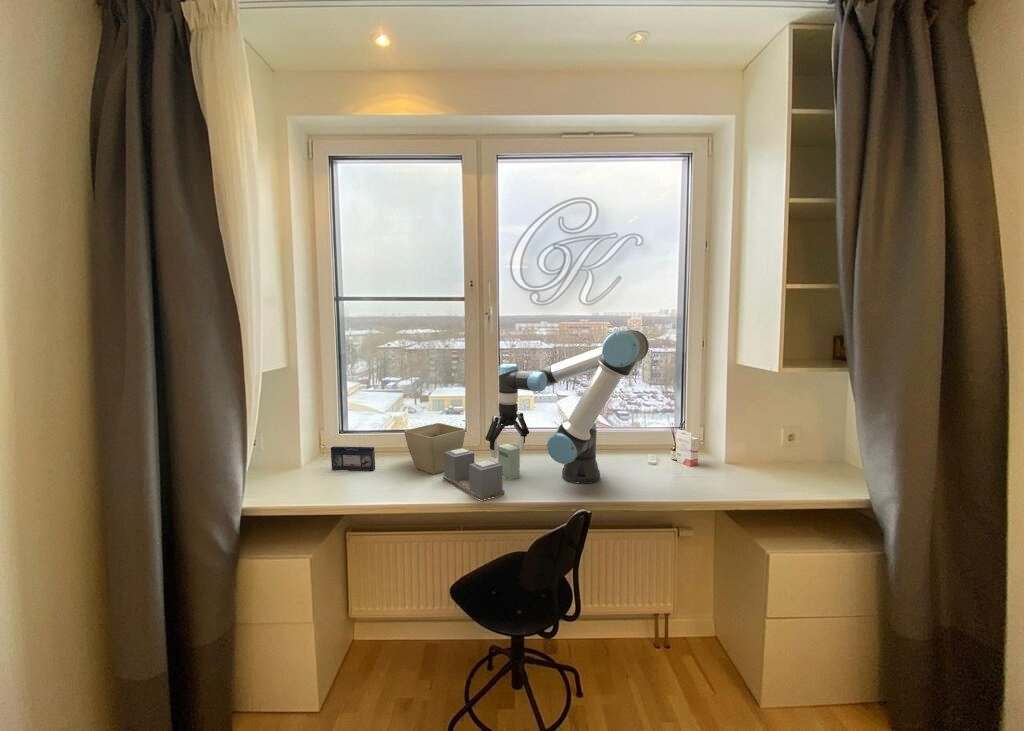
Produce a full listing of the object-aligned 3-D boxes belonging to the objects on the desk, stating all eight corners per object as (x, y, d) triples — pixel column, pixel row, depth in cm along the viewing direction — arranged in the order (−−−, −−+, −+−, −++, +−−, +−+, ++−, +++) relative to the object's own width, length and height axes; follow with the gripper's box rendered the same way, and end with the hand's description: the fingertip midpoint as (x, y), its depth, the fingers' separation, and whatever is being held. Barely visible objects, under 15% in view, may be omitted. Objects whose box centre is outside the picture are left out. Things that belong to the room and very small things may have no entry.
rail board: (464, 473, 186) (464, 469, 185) (504, 494, 163) (504, 490, 163) (443, 478, 180) (443, 475, 179) (481, 501, 157) (481, 497, 157)
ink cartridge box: (698, 465, 195) (699, 431, 193) (690, 466, 192) (691, 433, 191) (682, 459, 202) (683, 427, 201) (674, 461, 200) (675, 428, 198)
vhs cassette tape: (331, 470, 191) (330, 447, 190) (334, 468, 194) (333, 445, 193) (372, 472, 189) (371, 448, 187) (375, 469, 191) (374, 446, 190)
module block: (508, 471, 188) (507, 443, 186) (519, 477, 181) (519, 448, 180) (497, 474, 185) (497, 445, 183) (509, 479, 178) (509, 450, 177)
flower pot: (404, 468, 193) (403, 430, 191) (439, 458, 207) (438, 422, 205) (431, 479, 180) (430, 437, 178) (467, 467, 194) (466, 428, 192)
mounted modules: (464, 471, 185) (463, 446, 184) (502, 491, 163) (502, 463, 162) (444, 476, 179) (444, 450, 178) (481, 497, 158) (481, 468, 157)
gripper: (526, 398, 190) (526, 446, 193) (476, 404, 175) (476, 457, 178) (538, 400, 184) (537, 451, 187) (487, 408, 169) (487, 462, 172)
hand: (507, 454), depth 182 cm, fingers open, 13 cm apart
